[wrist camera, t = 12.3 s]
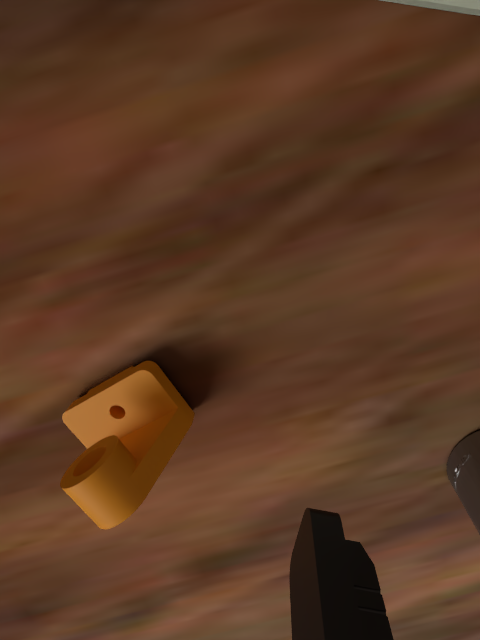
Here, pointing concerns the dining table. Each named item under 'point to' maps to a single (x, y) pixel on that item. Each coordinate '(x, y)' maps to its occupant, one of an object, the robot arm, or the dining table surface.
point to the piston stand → (445, 5)
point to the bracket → (123, 441)
